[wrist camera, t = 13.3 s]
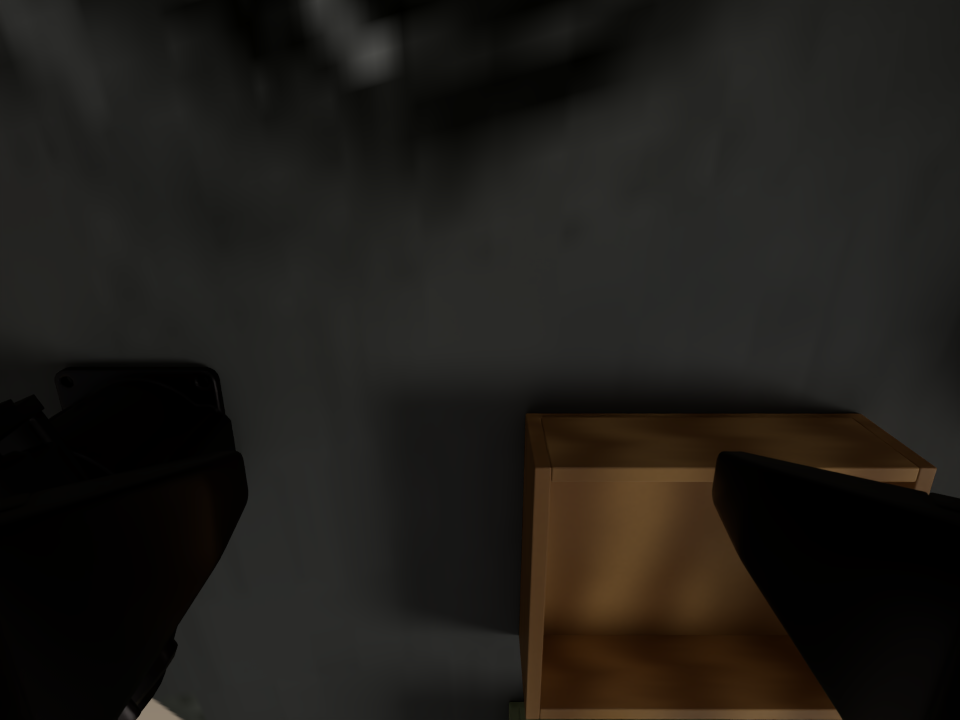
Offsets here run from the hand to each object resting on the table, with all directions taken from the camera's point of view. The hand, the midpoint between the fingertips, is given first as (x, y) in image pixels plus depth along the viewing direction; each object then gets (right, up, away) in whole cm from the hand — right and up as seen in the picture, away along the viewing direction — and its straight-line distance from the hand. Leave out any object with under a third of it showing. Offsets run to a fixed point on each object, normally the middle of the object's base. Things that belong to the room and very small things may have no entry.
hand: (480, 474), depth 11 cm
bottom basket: (+9, -6, +16) cm, 19 cm away
